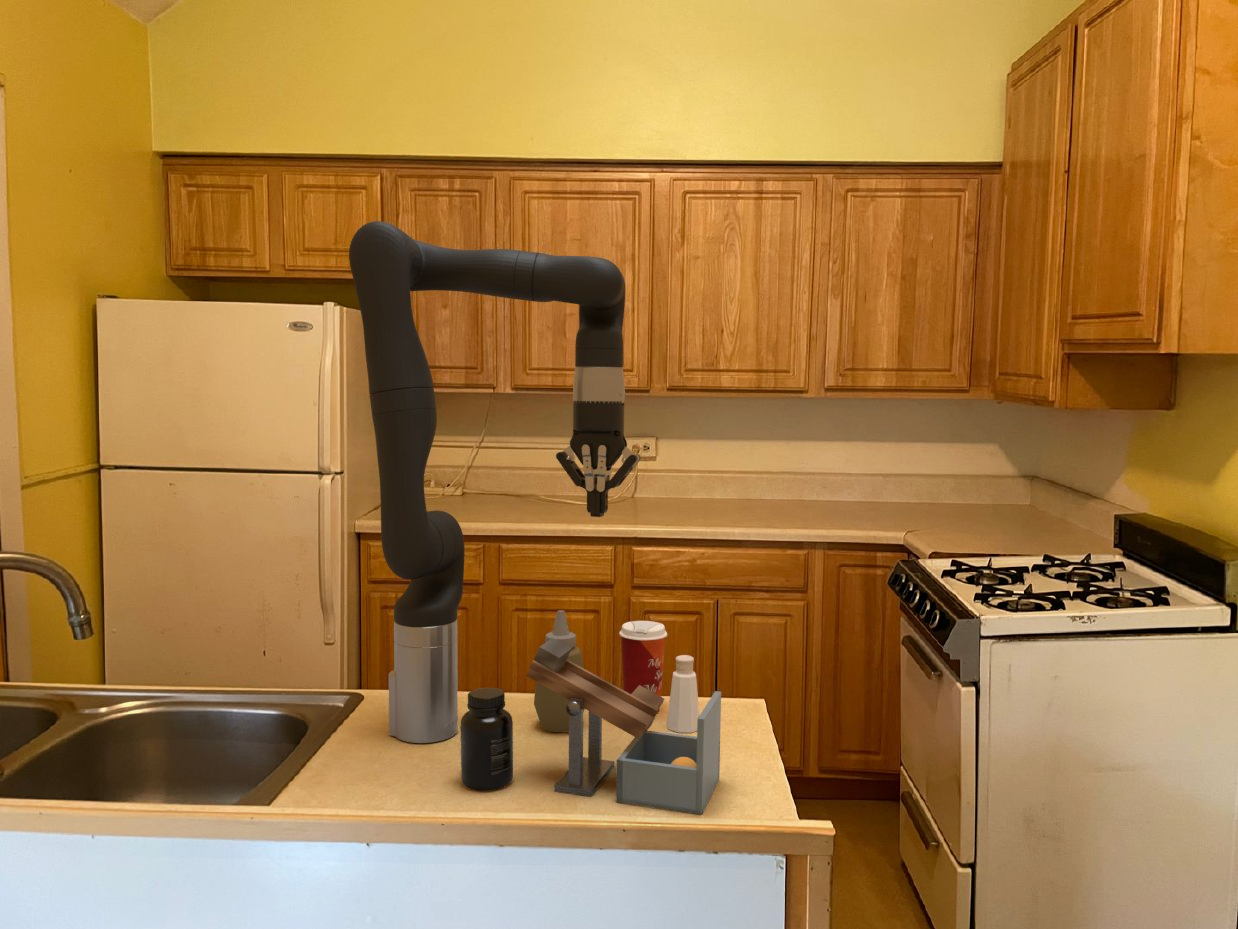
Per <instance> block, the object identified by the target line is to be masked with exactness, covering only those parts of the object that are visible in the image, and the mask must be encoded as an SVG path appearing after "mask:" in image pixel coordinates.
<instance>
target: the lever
mask: <svg viewBox="0 0 1238 929" xmlns="http://www.w3.org/2000/svg"><path fill="white" fill-rule="evenodd" d="M571 649H572V648H571V647H569V646H567V645H565V644H563V643H562V642H560V641H558V640H556V639H554V638H552V639H550V640H549V641H547V642H546V643H545V642H544V643H543V644H542V645H540V646H539V647H538V649H537V652H536V654H535V657H534V658H533V660H532V661H531V663H530V665H529V668H528V670H527V673H526V675H525V676H526V677H527V678H529V679H531V680H533V681H534V682H535V683H536V682H538V683H540V684H541V685H543V686H545V687H547V688H549V689H550V690H552V691H554V692H556V693H558V694H559V695H561V696H563V697H565V698H566V699H568V700H570V699H571V698H575V699H584V703H583V708H584V709H585V710H586V711H588V712H589V711H590V712H591V713H593V714H595V715H597V716H598V717H600V718H602V720H604V721H606V722H608V723H609V724H611V725H613V726H614V727H616V728H618V729H619V730H622V731H624V732H626V734H627V733H628V735H631V736H632V737H633V738H634V737H636V738H638V739H639V740H640V739H641V738H642V736H643V735H644V734H645V732H646V731H649V728H650V727H651V726H652V725H653V722H654V721H655V719H656V716H657V715H658V714H657V712H658V709H659V707H660V708H661V706H662V705H663V703H664V701H665V698H664V697H663V696H661V697H660V696H659V695H657V694H655V693H653V692H651V691H649V690H648V689H646V688H644V687H642V686H640V685H639V686H638V687H637V688H636V689H635V691H634V692H633V693H632V694H629V693H627V692H626V691H624V689H622V688H620V687H618V686H616V685H615V684H613V683H611V682H609V681H607V680H605V679H604V678H602V677H601V676H598V675H596V674H595V673H594V672H591V671H589V670H588V669H585V668H584V667H583V668H582V667H580V666H578V665H577V664H575V663H573V662H571V661H569V660H567V658H568V656H569V653H570V651H571ZM659 710H660V709H659Z"/></svg>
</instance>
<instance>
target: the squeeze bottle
mask: <svg viewBox="0 0 1238 929" xmlns="http://www.w3.org/2000/svg"><path fill="white" fill-rule="evenodd" d="M567 620H568V619H567V615H566V610H563V609H562V610H561V609H560V610H557V611H556V615H555V619H554V624H553V627H552V628H553V629H552V631H550V632H548V633H546V635H544V636H545V640H544V641H545V642H544V643H546V642H547V641H549V640H550V639H552V638H554V639H556V640H558V641H560V642H562V643H563V644H565V645H567V646H569V647H571V648H572V649H571V651H570V653H569V656H568V658H567V660H569V661H571V662H573V663H575V664H577V665H578V666H580V667H582V668H584V661H583V657H584V656H583V651H582V650H581V649H580V648H579V647H578V646H576V645H577V635H576V633H574V632H572V631H570V630H569V624H568V621H567ZM534 689H535V690H534V696H533V697H534V698H533V705H534V709H535V712H536V714H537V718H538V721H539V724H540V727H541V728H542V729H543V730H545V731H548V732H553V733H566V732H567V733H569V714H568V713H567V711H566V707H567V705H568V704H569V700H568V699H566V698H565V697H563V696H561V695H559V694H558V693H556V692H554V691H552V690H550V689H549V688H547V687H545V686H543V685H541V684H540V683H538V682H536V681H535V688H534ZM585 710H586V709H584V708H583V714H584V712H585Z"/></svg>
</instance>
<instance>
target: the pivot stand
mask: <svg viewBox="0 0 1238 929" xmlns="http://www.w3.org/2000/svg"><path fill="white" fill-rule="evenodd" d="M583 703H584V699H575V698H571V699H570V700H569V704H568V705H567V707H566V711H567V713H568V714H569V731H568V770H567V771H566V772H565V773H564V774H562V776H561V777H560V779H558V781H557V782H556V783H555V784H554V787H553V788H554V790H553V792H557V793H562V794H569V795H570V794H571V795H575V796H576V795H577V796H584V797H590V798H591V797H593V795H594V794H595V793H596V791H597V790H598V788H600V786H601V785H602V784H603V782H604V781H605V780H606V778H607V777H608V776H609V775H610V774H611V772H612V771H613V769H614V768H615V760H610V759H602V756H603V755H602V754H603V752H602V751H603V750H602V749H603V748H602V746H603V744H602V743H603V741H602V740H603V738H602V737H603V734H602V732H603V719H602V718H600V717H598V716H597V715H595V714H593V713H591V712H590V711H588V728H587V729H588V732H587V733H588V734H587V735H588V737H587V740H588V741H587V743H588V744H587V751H588V752H587V757H586V756H584V713H583Z"/></svg>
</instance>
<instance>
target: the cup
mask: <svg viewBox="0 0 1238 929" xmlns="http://www.w3.org/2000/svg"><path fill="white" fill-rule="evenodd" d="M721 718H722V691H717V690H715V691H714V692H713V693H712V696H711V697H710V699H709V700H708V702H707V703H706V705H705V706H704V708H703V709H702V711H701V712H700V713H699V717H698V719H697V731H696V736H695V735H694V736H693V735H686V734H681V733H679V734H678V733H672V732H662V731H653V730H647V731H646V732H645V734H644V735H643V736H642V738H641V739H640V740H639V739H638V738H636V737H634V736H633V739H631V742H630V743H629V744H628V745H627V746H626V748H624V750H623V751H622V753H621V754H620V755H618V758H616V779H615V780H616V783H615V784H616V785H615V786H616V790H615V796H616V797H615V798H616V799H615V802H616V803H619V804H627V805H630V806H631V805H632V806H641V807H646V808H652V809H661V810H666V811H667V810H668V811H673V812H680V813H687V814H693V815H699V816H700V815H701V816H702V815H703V814H704V811H705V810H706V808H707V805H708V804H709V801H710V799H711V798H712V795H713V793H714V791H715V789H716V787H717V785H718V784H719V781H720V769H721V768H720V764H721V762H720V760H721V756H720V755H721V726H722V725H721V721H722V720H721ZM679 757H688V758H690V759H692V760H693V761H694V762H695V763H696V764H697V768H694V767H687V766H679V765H672V764H671V763H672V762H673V761H674V760H675V759H677V758H679Z"/></svg>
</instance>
